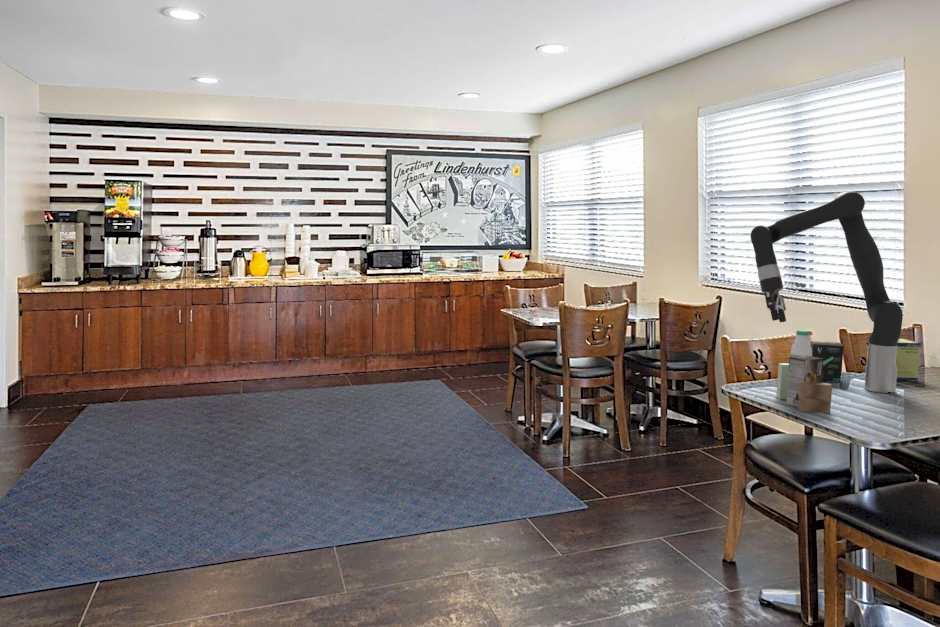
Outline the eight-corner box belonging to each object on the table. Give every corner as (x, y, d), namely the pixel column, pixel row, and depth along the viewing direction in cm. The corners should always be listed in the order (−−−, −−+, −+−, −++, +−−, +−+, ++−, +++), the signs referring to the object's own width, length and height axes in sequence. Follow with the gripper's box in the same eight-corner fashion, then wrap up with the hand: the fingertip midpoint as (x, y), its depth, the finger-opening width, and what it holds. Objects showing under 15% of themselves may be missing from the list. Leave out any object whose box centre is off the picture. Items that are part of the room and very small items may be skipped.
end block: (825, 410, 234) (828, 383, 233) (830, 412, 231) (832, 385, 230) (797, 409, 235) (799, 382, 234) (801, 411, 232) (803, 384, 231)
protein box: (918, 381, 285) (922, 342, 283) (878, 380, 285) (882, 341, 283) (902, 376, 295) (906, 338, 293) (864, 375, 295) (867, 337, 293)
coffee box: (804, 401, 246) (807, 355, 244) (820, 405, 241) (824, 358, 239) (785, 403, 242) (789, 356, 240) (802, 408, 236) (805, 360, 235)
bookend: (799, 397, 252) (802, 363, 250) (803, 399, 249) (805, 365, 247) (776, 396, 252) (778, 363, 251) (779, 398, 249) (782, 364, 248)
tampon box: (837, 378, 287) (840, 342, 286) (841, 383, 279) (844, 345, 277) (807, 376, 291) (810, 340, 289) (810, 380, 282) (813, 343, 280)
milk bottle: (805, 380, 283) (809, 329, 280) (813, 384, 275) (817, 332, 273) (785, 379, 284) (789, 328, 281) (792, 383, 276) (796, 331, 274)
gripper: (774, 273, 260) (784, 317, 256) (786, 278, 271) (795, 320, 267) (753, 279, 264) (762, 322, 261) (766, 283, 275) (775, 324, 272)
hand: (779, 321), depth 264 cm, fingers open, 8 cm apart
